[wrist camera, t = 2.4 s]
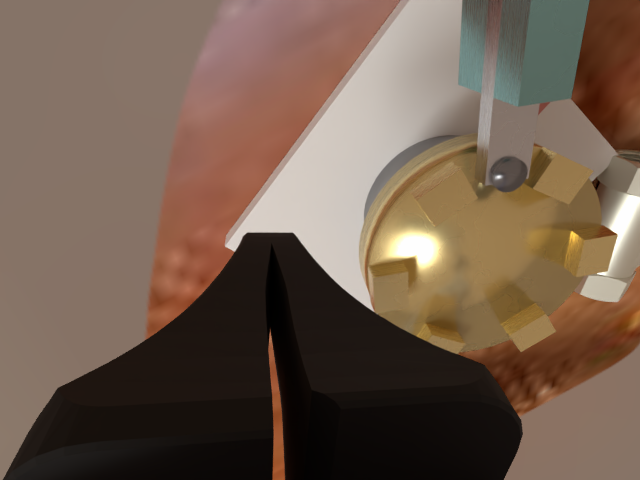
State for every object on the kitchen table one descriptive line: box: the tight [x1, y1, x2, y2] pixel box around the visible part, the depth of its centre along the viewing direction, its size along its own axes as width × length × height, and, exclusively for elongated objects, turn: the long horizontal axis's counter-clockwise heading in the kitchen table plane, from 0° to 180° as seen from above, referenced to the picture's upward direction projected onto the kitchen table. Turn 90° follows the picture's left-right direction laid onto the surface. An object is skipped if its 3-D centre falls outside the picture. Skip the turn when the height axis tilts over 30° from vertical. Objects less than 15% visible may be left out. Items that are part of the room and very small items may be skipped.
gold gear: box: [359, 0, 618, 354], centre depth 15 cm, size 18×10×4 cm, turn 7°
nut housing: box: [225, 0, 618, 314], centre depth 20 cm, size 16×14×4 cm
